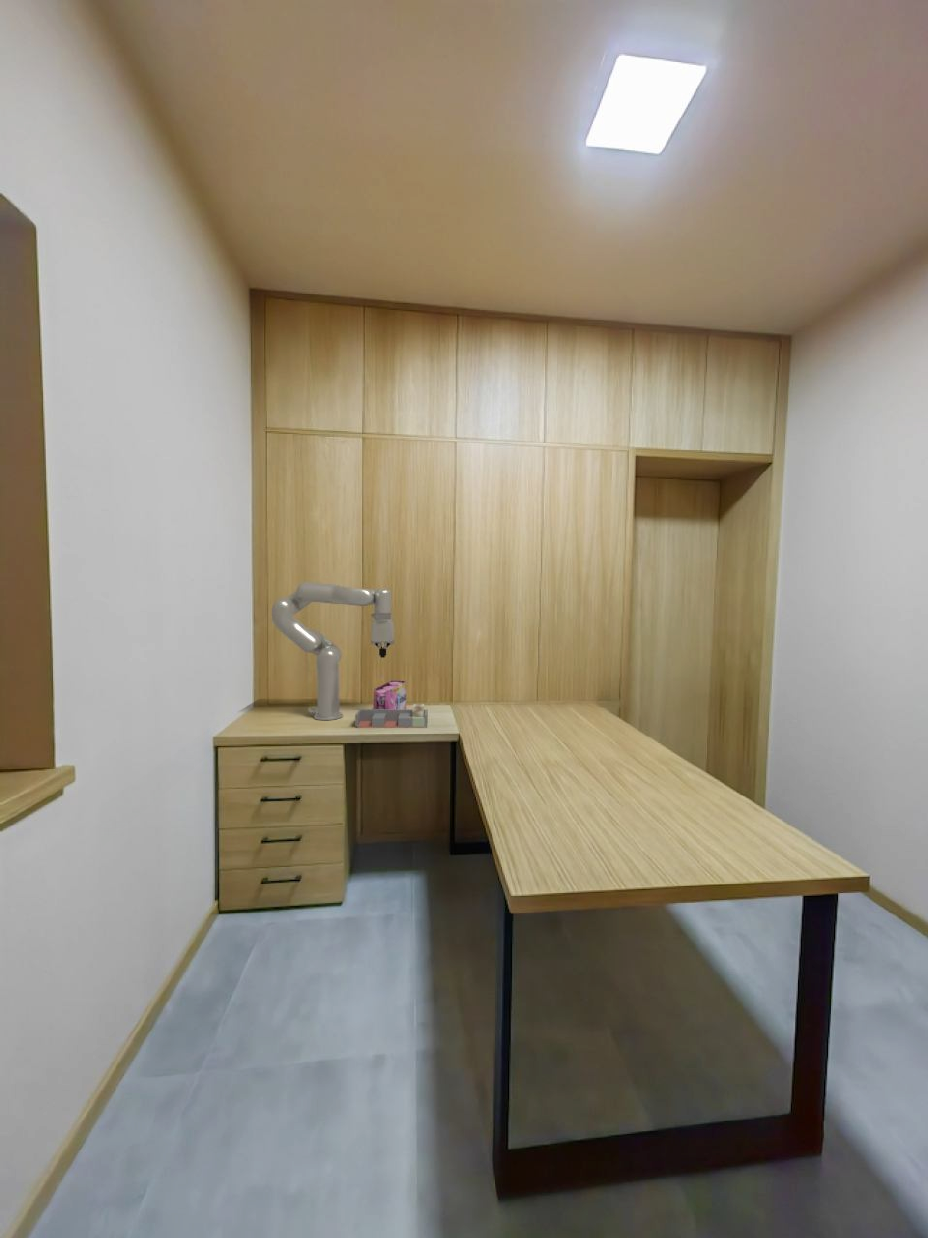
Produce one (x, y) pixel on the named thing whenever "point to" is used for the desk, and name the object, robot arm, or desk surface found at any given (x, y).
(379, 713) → the track
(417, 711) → the cream block
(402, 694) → the gum box
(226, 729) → the desk surface
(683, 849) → the desk surface
